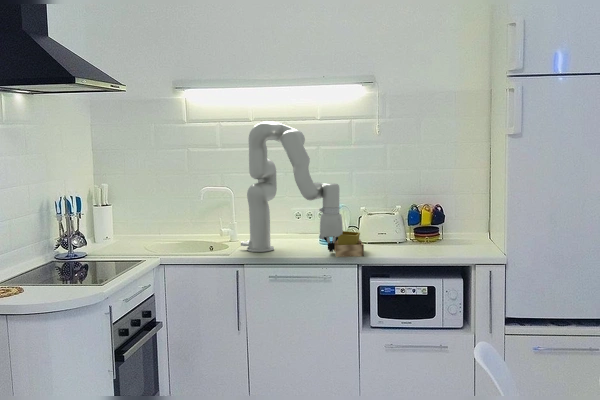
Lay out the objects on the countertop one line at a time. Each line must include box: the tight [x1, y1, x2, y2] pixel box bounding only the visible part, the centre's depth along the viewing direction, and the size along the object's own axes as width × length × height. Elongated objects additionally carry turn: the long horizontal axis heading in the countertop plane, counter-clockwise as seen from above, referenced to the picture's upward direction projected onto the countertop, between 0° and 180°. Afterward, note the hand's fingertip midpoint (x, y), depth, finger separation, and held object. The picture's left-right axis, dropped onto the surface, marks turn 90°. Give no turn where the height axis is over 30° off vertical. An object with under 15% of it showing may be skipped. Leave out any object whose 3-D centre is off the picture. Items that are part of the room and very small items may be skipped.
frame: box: [333, 238, 365, 258], centre depth 292 cm, size 12×15×5 cm
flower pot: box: [338, 230, 361, 245], centre depth 293 cm, size 9×9×9 cm
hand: (331, 251), depth 293 cm, fingers closed
